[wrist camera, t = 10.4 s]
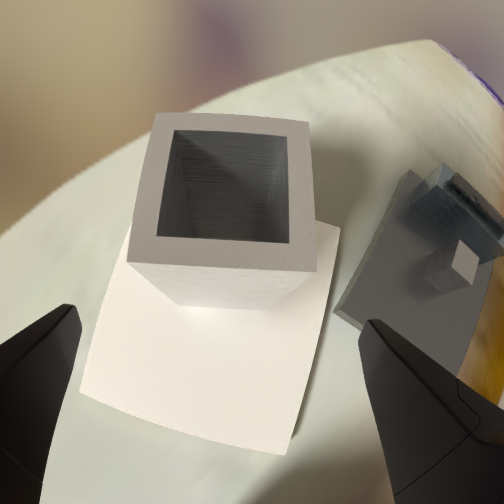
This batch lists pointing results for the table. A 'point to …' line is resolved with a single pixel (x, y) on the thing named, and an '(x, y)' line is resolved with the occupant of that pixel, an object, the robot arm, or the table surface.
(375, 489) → the table surface
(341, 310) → the grey piece
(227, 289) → the square hollow tube
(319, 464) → the table surface
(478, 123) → the table surface
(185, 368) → the cutting board
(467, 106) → the table surface
